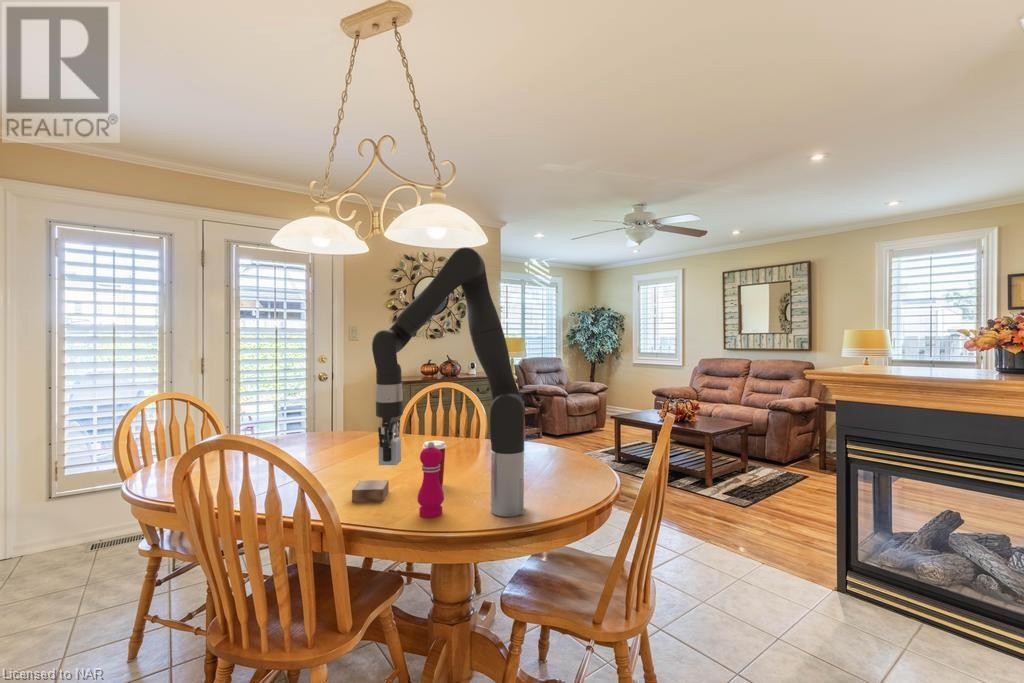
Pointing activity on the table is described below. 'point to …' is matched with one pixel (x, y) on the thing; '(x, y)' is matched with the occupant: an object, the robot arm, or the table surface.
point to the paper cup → (441, 447)
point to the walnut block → (370, 491)
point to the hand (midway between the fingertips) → (390, 458)
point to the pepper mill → (430, 483)
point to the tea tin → (394, 452)
